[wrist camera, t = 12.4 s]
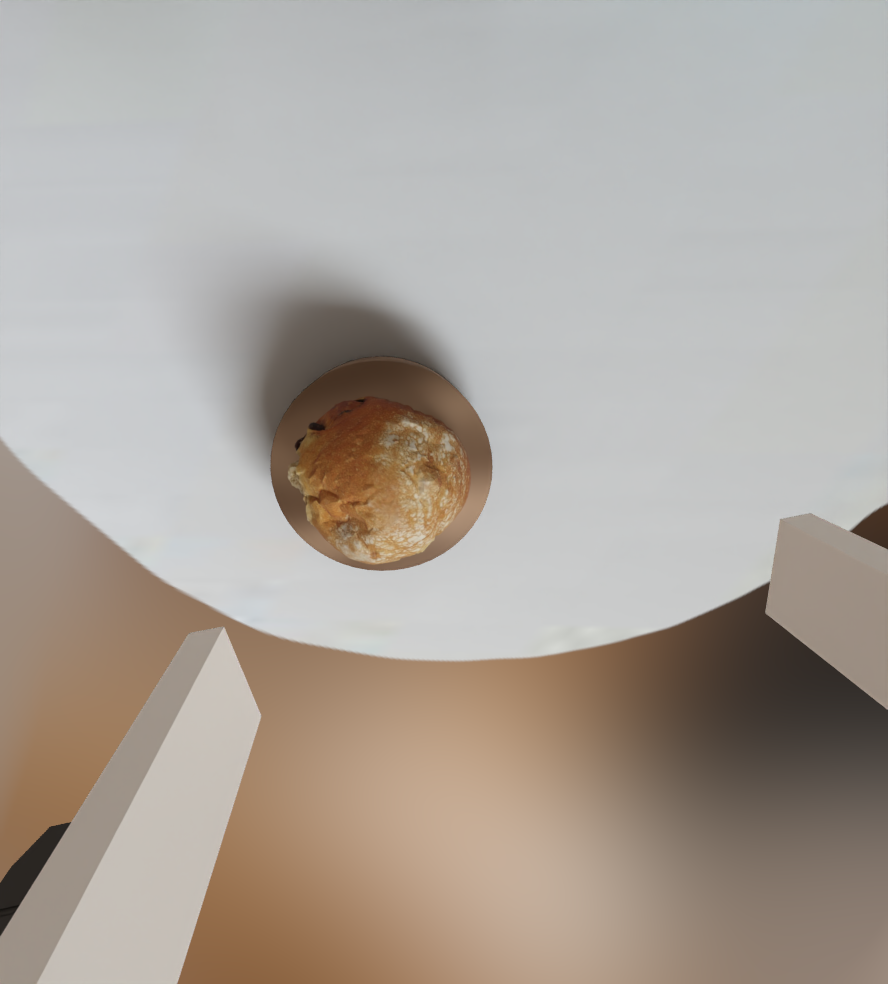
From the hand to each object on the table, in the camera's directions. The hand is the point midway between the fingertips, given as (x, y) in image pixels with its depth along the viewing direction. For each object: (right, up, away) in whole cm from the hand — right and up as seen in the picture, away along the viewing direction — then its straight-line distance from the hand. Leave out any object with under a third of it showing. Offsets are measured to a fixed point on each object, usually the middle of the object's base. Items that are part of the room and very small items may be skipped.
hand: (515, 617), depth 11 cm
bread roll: (-6, +4, +18) cm, 19 cm away
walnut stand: (-6, +5, +22) cm, 23 cm away
